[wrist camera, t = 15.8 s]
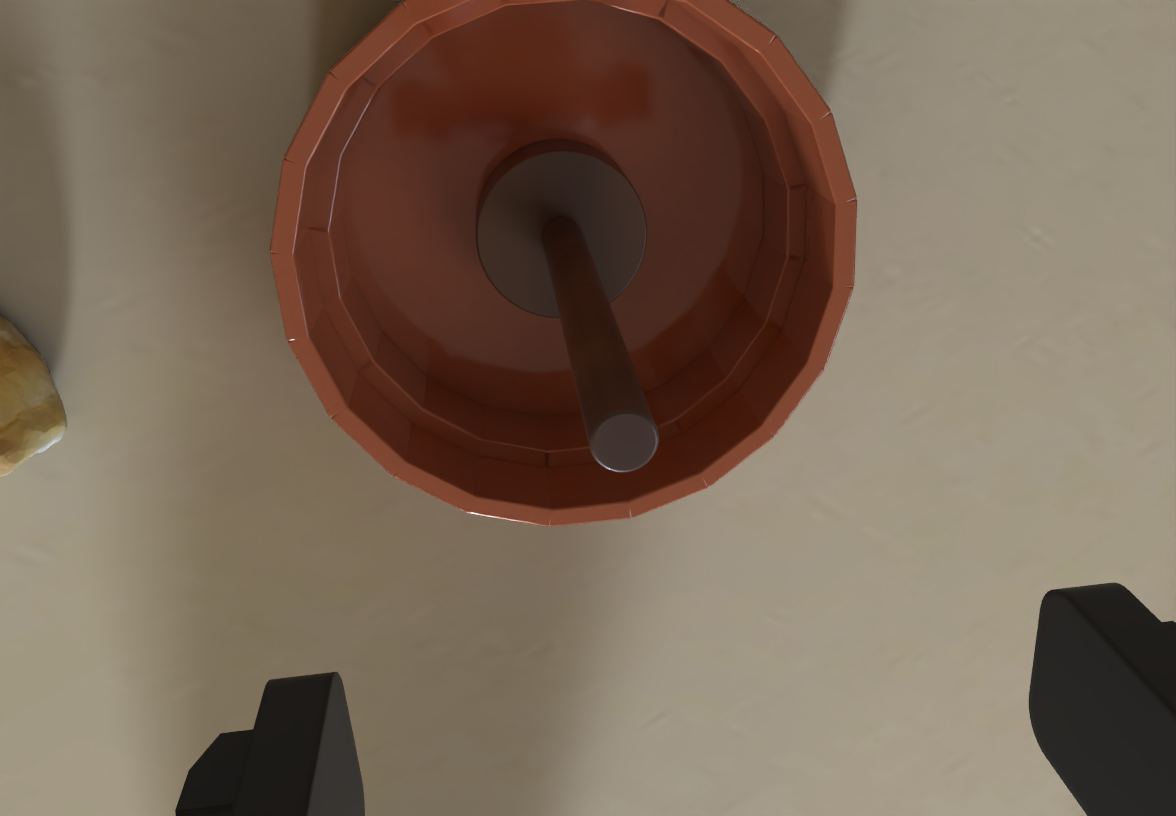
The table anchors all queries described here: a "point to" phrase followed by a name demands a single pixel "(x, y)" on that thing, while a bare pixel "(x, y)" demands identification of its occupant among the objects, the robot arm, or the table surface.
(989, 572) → the table surface
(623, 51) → the mixing bowl
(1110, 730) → the robot arm
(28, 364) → the pastry
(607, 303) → the brown plunger
